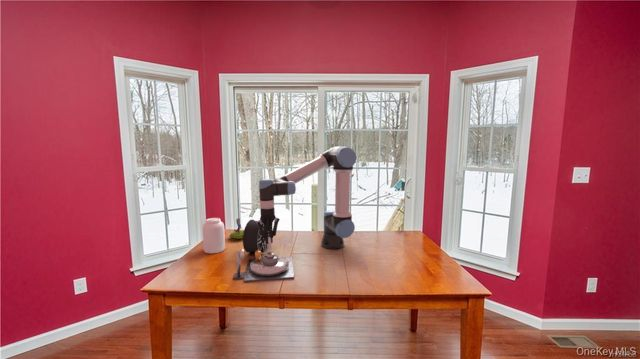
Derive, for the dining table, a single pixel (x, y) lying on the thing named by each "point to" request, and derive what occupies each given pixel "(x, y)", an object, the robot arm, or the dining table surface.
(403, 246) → the dining table surface
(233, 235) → the figurine
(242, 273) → the dial stand
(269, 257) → the cover
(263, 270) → the turntable
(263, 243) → the wheel rim
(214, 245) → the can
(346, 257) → the dining table surface
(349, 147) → the robot arm
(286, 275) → the turntable base
